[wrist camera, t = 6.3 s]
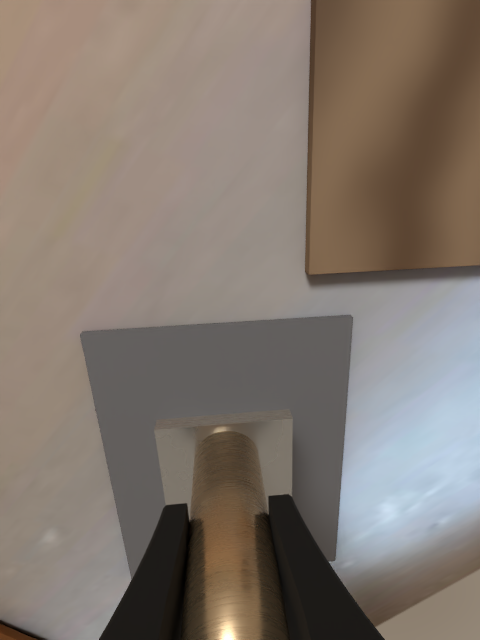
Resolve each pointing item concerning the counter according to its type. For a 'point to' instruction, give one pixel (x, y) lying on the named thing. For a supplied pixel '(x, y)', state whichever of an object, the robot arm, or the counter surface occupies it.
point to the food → (12, 634)
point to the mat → (221, 405)
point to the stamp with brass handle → (229, 519)
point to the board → (393, 135)
